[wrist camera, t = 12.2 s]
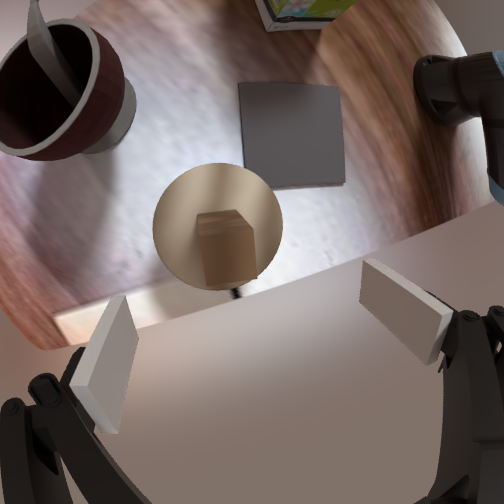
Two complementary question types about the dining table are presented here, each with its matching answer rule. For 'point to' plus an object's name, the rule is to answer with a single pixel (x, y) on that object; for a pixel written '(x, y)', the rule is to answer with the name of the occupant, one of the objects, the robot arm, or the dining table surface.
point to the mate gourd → (62, 92)
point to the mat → (292, 133)
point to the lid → (217, 226)
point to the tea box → (300, 13)
